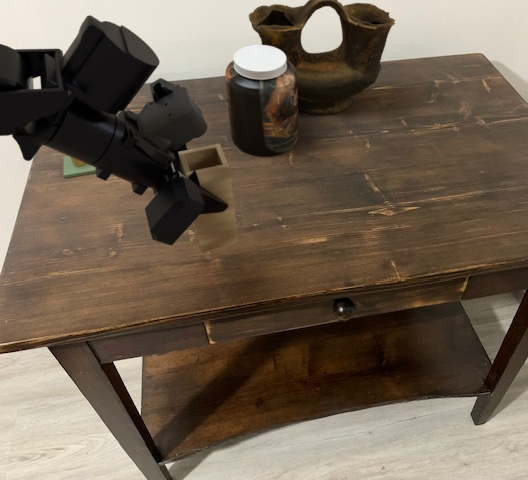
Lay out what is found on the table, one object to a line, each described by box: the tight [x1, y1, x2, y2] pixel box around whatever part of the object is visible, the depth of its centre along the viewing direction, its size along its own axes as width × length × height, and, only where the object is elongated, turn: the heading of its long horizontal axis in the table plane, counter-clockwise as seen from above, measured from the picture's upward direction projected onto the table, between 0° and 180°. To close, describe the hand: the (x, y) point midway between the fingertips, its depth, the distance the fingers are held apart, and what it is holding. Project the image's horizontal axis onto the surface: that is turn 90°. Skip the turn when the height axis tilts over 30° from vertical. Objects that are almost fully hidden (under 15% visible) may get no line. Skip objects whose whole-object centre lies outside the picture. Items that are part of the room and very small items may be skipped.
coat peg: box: [63, 155, 96, 179], centre depth 86 cm, size 5×5×4 cm
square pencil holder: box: [178, 143, 239, 253], centre depth 64 cm, size 5×4×12 cm
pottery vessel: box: [248, 0, 396, 115], centre depth 95 cm, size 25×11×20 cm, turn 98°
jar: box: [224, 44, 299, 157], centre depth 89 cm, size 12×12×15 cm
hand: (221, 195), depth 64 cm, fingers closed on square pencil holder, 4 cm apart
